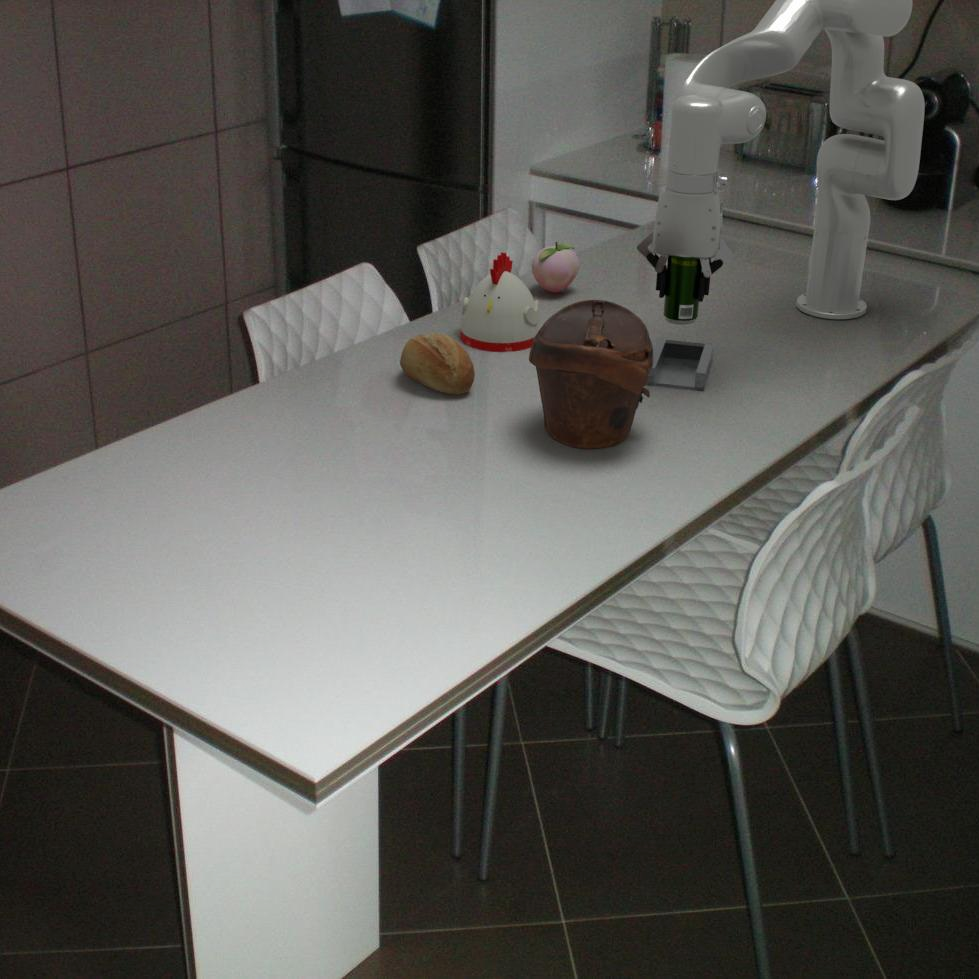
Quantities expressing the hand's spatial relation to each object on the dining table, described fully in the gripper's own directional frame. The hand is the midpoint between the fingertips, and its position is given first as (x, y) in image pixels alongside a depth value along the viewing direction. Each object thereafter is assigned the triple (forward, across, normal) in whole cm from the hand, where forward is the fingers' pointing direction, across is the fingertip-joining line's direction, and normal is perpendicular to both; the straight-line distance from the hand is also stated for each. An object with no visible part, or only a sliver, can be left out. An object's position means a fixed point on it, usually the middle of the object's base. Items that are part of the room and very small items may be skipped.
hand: (681, 295), depth 214 cm
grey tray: (+15, 0, -5) cm, 16 cm away
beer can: (+4, 0, 0) cm, 4 cm away
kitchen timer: (+15, +32, -13) cm, 38 cm away
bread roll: (+15, +37, +10) cm, 41 cm away
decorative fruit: (+15, +28, -38) cm, 49 cm away
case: (+15, +10, +21) cm, 28 cm away
